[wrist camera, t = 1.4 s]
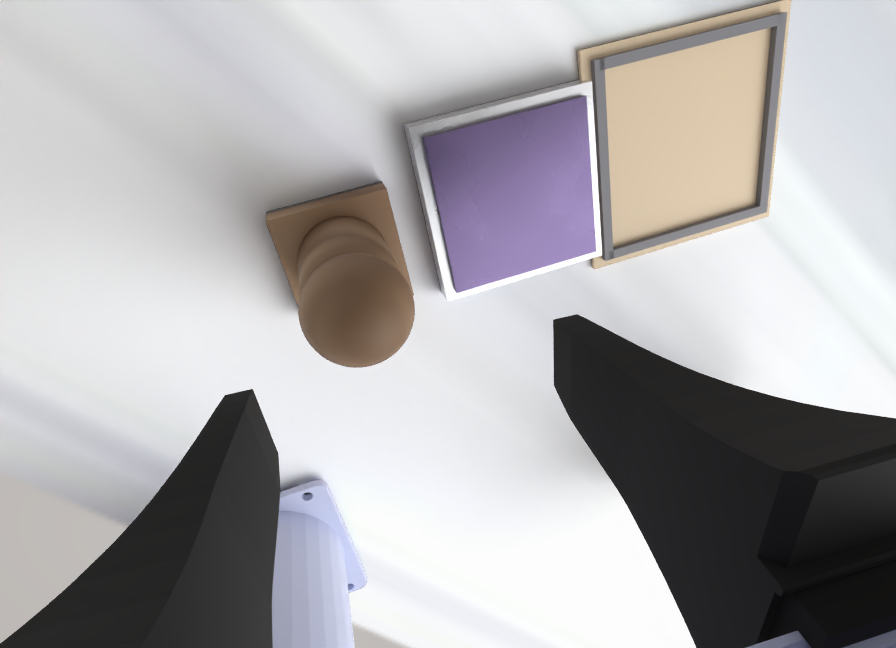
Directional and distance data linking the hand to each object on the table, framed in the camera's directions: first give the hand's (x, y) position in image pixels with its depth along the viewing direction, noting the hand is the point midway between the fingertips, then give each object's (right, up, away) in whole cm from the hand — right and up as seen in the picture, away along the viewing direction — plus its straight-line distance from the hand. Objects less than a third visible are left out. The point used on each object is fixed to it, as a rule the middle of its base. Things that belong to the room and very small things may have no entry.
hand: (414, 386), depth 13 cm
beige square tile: (+11, +9, +10) cm, 17 cm away
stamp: (-3, +4, +9) cm, 10 cm away
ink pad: (+3, +7, +9) cm, 12 cm away
